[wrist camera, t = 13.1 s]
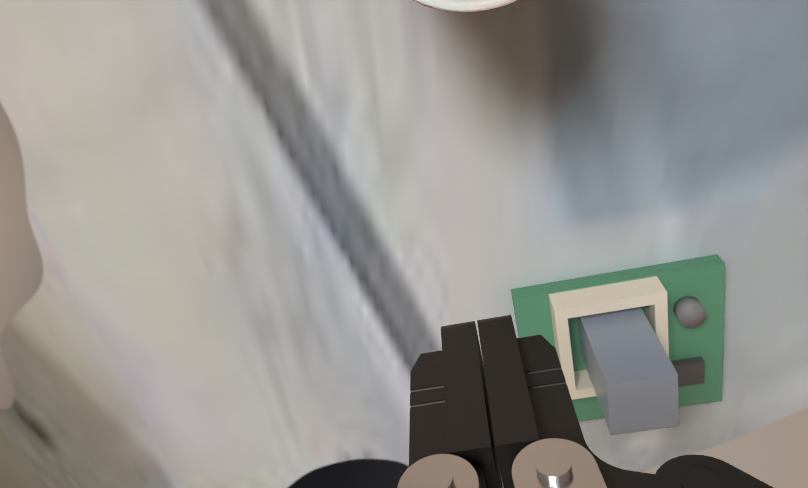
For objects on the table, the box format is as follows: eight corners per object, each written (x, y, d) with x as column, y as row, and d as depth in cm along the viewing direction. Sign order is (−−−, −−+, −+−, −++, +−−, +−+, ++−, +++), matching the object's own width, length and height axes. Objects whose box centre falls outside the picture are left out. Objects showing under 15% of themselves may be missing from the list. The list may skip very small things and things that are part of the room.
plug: (635, 297, 43) (677, 374, 36) (638, 353, 45) (678, 435, 38) (576, 307, 43) (606, 384, 36) (581, 361, 46) (611, 444, 39)
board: (717, 254, 43) (738, 278, 40) (715, 389, 48) (733, 419, 45) (511, 289, 44) (517, 315, 42) (531, 416, 50) (538, 446, 47)
